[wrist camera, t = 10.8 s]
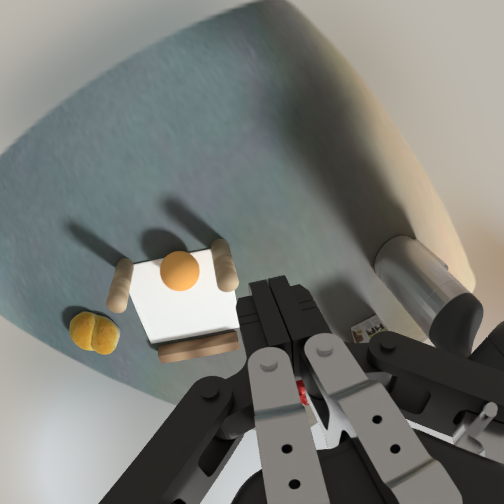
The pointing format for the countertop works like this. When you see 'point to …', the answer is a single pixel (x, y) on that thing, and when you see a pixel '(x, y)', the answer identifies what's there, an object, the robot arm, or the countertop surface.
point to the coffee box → (367, 329)
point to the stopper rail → (198, 347)
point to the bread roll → (94, 332)
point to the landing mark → (181, 302)
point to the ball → (179, 271)
